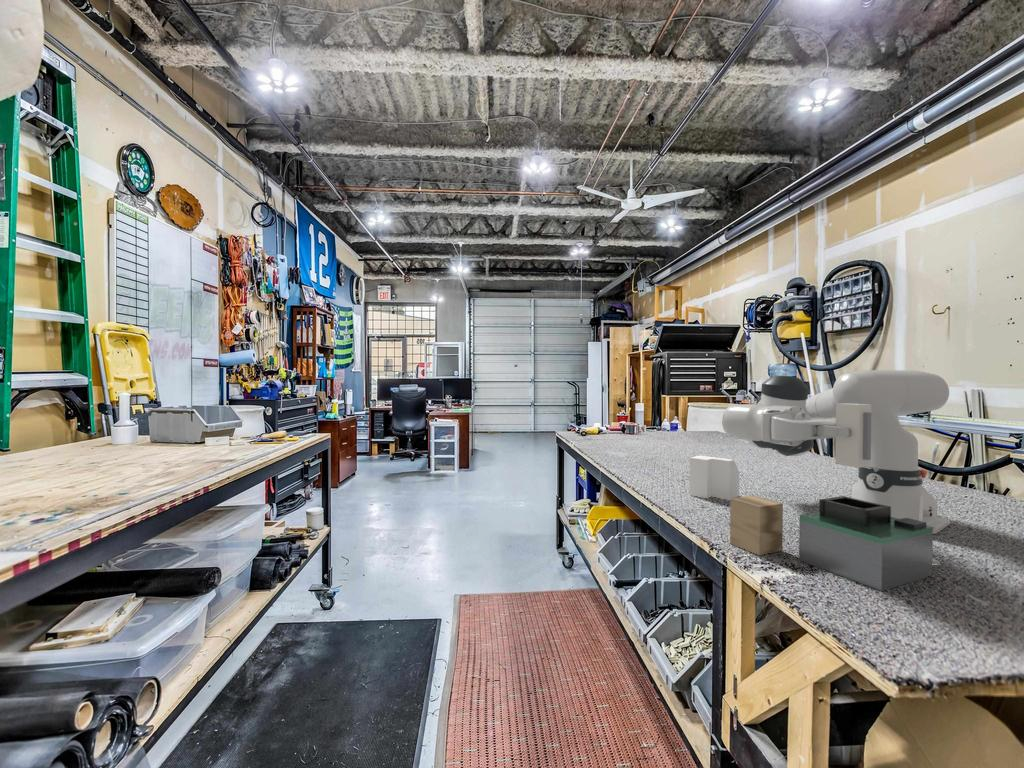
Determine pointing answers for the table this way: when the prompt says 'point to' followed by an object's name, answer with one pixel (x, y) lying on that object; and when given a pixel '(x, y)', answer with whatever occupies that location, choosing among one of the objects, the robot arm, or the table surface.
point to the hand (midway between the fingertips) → (858, 432)
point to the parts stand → (756, 524)
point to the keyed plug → (854, 435)
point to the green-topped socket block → (866, 543)
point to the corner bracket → (713, 477)
